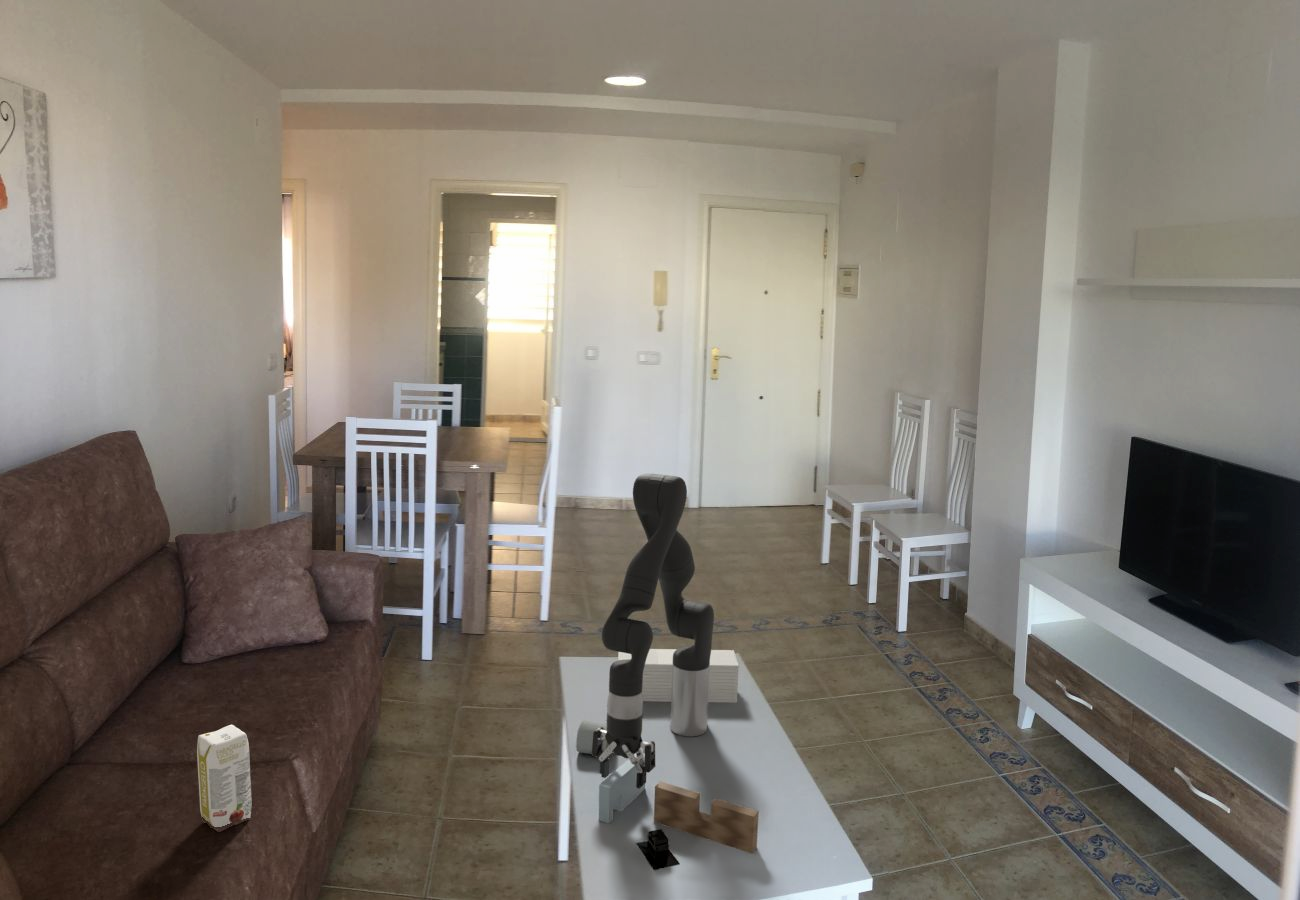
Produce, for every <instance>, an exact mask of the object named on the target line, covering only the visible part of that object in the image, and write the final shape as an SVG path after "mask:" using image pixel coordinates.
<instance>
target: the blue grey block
mask: <svg viewBox="0 0 1300 900" xmlns="http://www.w3.org/2000/svg"><path fill="white" fill-rule="evenodd" d="M643 755H644V760H645V753H643ZM634 756H635V757H637V755H636V753H635V754H634ZM637 772H638V771H637V769H636V767H635V765H634V764H632V763H631V761H630V760H629V758H628V759H627V760H626V761H625V762H623V763H622V765H620V766H619V767H618V768H617V769H616V770H614V771H613V772H612V773H611V774H610V775H608V776H607V777H606V778H604V780H603V781H602V782H601V783H600V784H599V785H598V786H599V787H598V789H599V791H598V792H599V793H598V794H599V795H598V796H599V797H598V821H600V822H603V823H606V824H610V822H611V821H613V819H614V817H613V816H614V815H613V814H614V810H616V811H619V812H622V811H623V810H624V809H625V808H626V807H628V805H629V804H631V803H632V802H633V800H635V799H636V798H637V797H638V796H639V795H640V794H641V793H643V791H645V790H646V784H645V785H643V786H642V787H641V788H640V789H639V788H636V780H637Z"/></svg>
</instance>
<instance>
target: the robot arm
mask: <svg viewBox="0 0 1300 900" xmlns="http://www.w3.org/2000/svg"><path fill="white" fill-rule="evenodd" d="M687 495H688V489H687V485H686V481H685V480H684V478H682V477H680V476H676V475H668V474H658V473H642V474H640V475H639V476H637V477H636V478H635V480H634V482H633V488H632V500H633V505H634V509H635V511H636V514H637V517H638V519H639V521H640V523H641V526H642V528H643V530H644V531H643V532H644V534H645V537H646V539H647V542H646V543H645V544H644V545H643V546H642V548H640V549H639V550H638V552H637V553H636V554H635V555H634V556H633V558H632V560H631V561H630V563H629V564H628V566H627V569H626V571H625V576H624V579H623V583H622V587H621V591H620V595H619V597H618V599H617V601H616V603H615V604H614V607H613V609H612V610H611V613H610V614H609V616H608V617H607V619H606V620H605V622H604V625H603V627H602V631H601V641H602V644H603V646H604V647H605V648H606V649H607V650H610V651H612V652H613V651H614V652H623V653H628V654H631V656H632V657H631V659H627V660H616V661H613V662H612V664H611V665H610V667H609V673H608V674H609V679H608V693H607V694H608V695H607V700H606V724H607V731H605V730H604V728H603V727H599V728H598V729H597V730H595V731H594V732H593V744H592V754H591V756H593V757H596V758H597V759H598V760H599V774H600V775H601V776H600V777H601V778H603V779H607V778H608V777H609V776H610V775H609V774H610V761H611V759H610V758H609V757H610V756H611V754H614V756H617V757H622V758H624V759H627V760H628V759H629V760H630V761H631V763H632V764H634V765H635V767H636V769H637V771H638V772H637V780H636V788H639V789H640V788H641V787H642V786H643V785H645V786H646V783H647V774H649V773H650V772H651V771H653V770H654V768H656V742H655V741H654V740H651V741H649V742H648V741H643V739H642V731H643V710H644V701H643V695H642V683H643V670H644V666H645V662H646V658H647V655H648V652H649V650H650V649H651V646H652V643H653V639H654V632H653V629H652V627H651V626H650V624H649V623H648V622H647V621H643V620H637V619H632V618H629V617H630V615H632V614H633V613H636V612H644V611H648V610H650V609H651V608H652V606H653V603H654V600H655V599H654V598H655V595H656V590H657V586H658V583H659V585H660V589H661V594H662V599H663V606H664V611H665V612H664V613H665V619H666V623H667V628H668V630H669V632H670V633H671V634H672V635H673V636H675V637H679V638H684V639H689V640H694V644H692V645H686V646H681V647H680V648H677V650H676V651H675V652H674V654H673V666H672V695H671V703H670V704H671V705H670V724H669V725H670V726H669V727H670V730H671V731H672V733H675V734H677V735H679V736H683V737H684V736H685V737H697V736H701V735H703V734H704V733H706V732H707V730H708V728H707V727H708V707H709V702H708V691H709V667H710V655H711V650H712V644H713V643H712V642H713V634H714V633H713V632H714V624H715V623H714V622H715V613H714V608H713V606H712V605H711V604H710V603H706V602H701V601H694V600H689V599H686V598H684V597H683V592H684V590H685V589H686V587H687V586H688V585H689V583H690V582H691V581H692V579H693V577H694V574H695V571H696V567H695V560H694V556H693V552H692V548H691V545H690V544H689V542H688V541H687V539H686V538H685V537H684V536H683V535H682V534H681V532H680V531H679V530H677V529H678V527H679V525H680V521H681V518H682V516H683V513H684V510H685V506H686V503H687V498H688V497H687ZM604 738H606V740H607V742H608V744H609V746H608V747H607V749H606V750H605V751H603V750H602V747H603V739H604ZM641 748H642V750H641ZM635 753H636V755H637V757H635V756H634V754H635ZM643 754H644V755H645V760H644V755H643Z"/></svg>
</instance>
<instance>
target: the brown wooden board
mask: <svg viewBox="0 0 1300 900" xmlns="http://www.w3.org/2000/svg"><path fill="white" fill-rule="evenodd" d="M653 801H654V805H653V806H654V807H653V808H654V809H653V810H654V811H653V823H656V824H659V825H662V826H665V827H668V828H671V829H674V830H677V831H681V832H684V833H688V834H689V835H692V836H696V837H698V838H703V839H705V840H707V841H712V842H714V843H718V844H721V845H723V846H724V845H725V846H727V847H730V848H733V849H736V850H739V851H742V852H745V853H748V854H752V855H753V853H754V852H755V851H756V850H757V848H758V833H759V832H758V830H759V814H760V813H759V810H757V809H753V808H751V807H747V806H744V805H740V804H737V803H733V802H729V801H727V800H723V799H720V798H717V797H716V798H715V799H714V801H712V803H711V809H710V814H709V813H706V812H703V811H701V810H700V805H701V793H700V792H697V791H694V790H691V789H687V788H683V787H679V786H677V785H674V784H670V783H667V782H664V781H659V782H658V783H657V784H656V785H655V786H654V800H653Z"/></svg>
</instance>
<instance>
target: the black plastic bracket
mask: <svg viewBox="0 0 1300 900" xmlns="http://www.w3.org/2000/svg"><path fill="white" fill-rule="evenodd" d="M646 839H647V840H644V841H640V842H639V841H638V842H636V843H635V844H636V846H637V847H638V849H639V851H641V854H642V855H643V856H644V858H645V859H646V861H647V863H648V864H649V865H650V867H651V868H652V870H653V871H657V870H658V871H659V870H662V869H666V868H667V869H668V868H670V867H675V866H679V865H680V862H679V860H678V859H677V857H676V856H675V855H674V854H673V852H672V850H671V849H670V843H669V837H668V836H667V835H666V833H665V832H664V830H663V829H662V828H658V829H654V830H650V831H647V838H646Z"/></svg>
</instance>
